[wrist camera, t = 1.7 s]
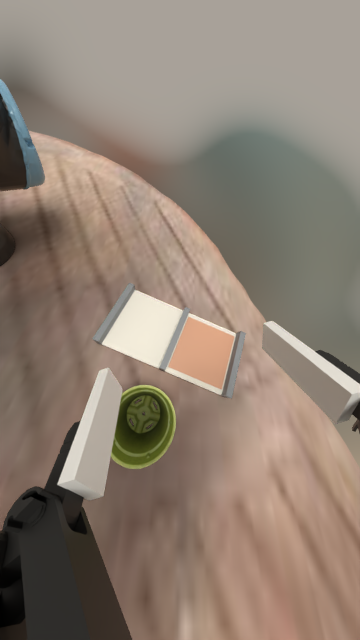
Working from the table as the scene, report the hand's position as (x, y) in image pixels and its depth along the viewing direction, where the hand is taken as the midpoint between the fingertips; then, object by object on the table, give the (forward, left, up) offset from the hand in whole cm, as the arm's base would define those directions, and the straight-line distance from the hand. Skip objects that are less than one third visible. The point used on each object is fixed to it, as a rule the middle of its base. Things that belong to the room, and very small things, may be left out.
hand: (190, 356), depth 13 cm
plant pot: (-5, -6, -21) cm, 22 cm away
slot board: (+2, +7, -20) cm, 22 cm away
